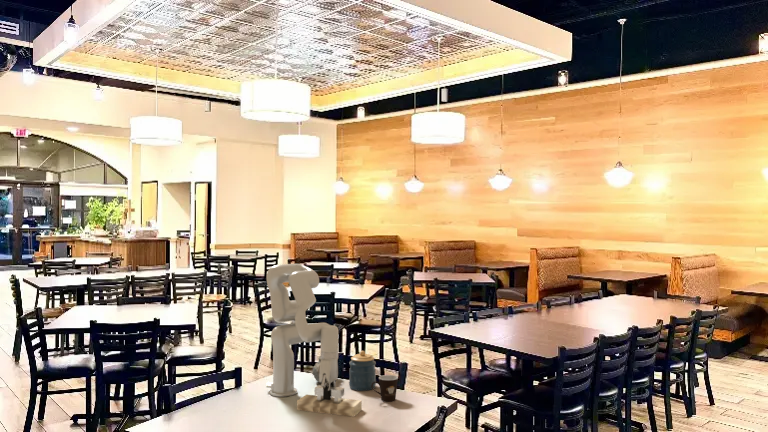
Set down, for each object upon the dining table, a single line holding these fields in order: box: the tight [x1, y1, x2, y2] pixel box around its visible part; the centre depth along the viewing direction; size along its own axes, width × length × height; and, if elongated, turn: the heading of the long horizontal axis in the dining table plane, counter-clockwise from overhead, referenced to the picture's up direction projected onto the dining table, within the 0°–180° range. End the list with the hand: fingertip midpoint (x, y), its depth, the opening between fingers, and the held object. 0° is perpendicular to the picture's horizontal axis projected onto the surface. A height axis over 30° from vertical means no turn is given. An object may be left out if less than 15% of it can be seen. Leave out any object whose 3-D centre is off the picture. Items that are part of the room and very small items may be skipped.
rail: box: [296, 394, 363, 418], centre depth 248 cm, size 26×9×4 cm, turn 71°
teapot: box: [312, 355, 327, 383], centre depth 292 cm, size 21×12×15 cm, turn 168°
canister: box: [348, 350, 377, 392], centre depth 282 cm, size 13×13×18 cm
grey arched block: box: [314, 384, 345, 404], centre depth 248 cm, size 12×4×8 cm, turn 71°
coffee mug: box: [371, 374, 399, 403], centre depth 262 cm, size 12×9×10 cm
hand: (329, 397), depth 248 cm, fingers closed on grey arched block, 4 cm apart
